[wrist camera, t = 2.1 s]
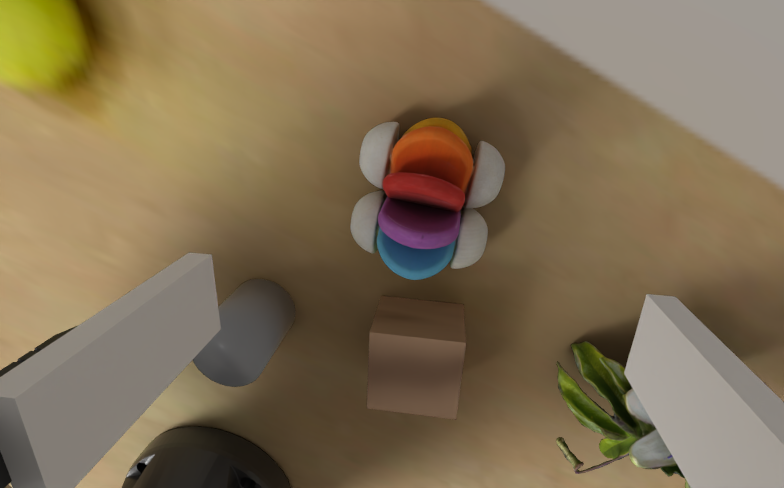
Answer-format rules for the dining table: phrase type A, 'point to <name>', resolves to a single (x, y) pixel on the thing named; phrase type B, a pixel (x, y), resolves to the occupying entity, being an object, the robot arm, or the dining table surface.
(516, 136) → the dining table surface
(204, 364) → the grey cylinder
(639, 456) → the passion flower
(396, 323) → the walnut block
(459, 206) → the rainbow cloud toy
